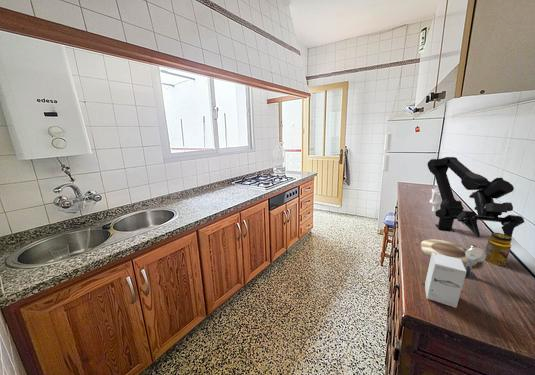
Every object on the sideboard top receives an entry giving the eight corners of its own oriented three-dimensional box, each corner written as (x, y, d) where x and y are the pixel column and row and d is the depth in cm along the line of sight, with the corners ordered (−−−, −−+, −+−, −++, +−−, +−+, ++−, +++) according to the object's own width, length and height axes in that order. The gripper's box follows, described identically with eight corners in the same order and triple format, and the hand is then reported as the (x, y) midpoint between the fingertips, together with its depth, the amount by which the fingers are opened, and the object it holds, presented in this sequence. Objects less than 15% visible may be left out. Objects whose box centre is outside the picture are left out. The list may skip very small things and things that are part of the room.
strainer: (434, 213, 134) (439, 190, 130) (425, 209, 140) (429, 187, 136) (444, 212, 134) (449, 189, 130) (434, 208, 141) (439, 186, 137)
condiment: (509, 271, 79) (519, 241, 76) (478, 264, 83) (486, 236, 80) (501, 260, 86) (509, 233, 82) (472, 255, 90) (480, 228, 86)
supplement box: (426, 299, 66) (434, 263, 63) (424, 285, 73) (431, 251, 69) (457, 309, 63) (467, 271, 59) (452, 293, 69) (461, 258, 66)
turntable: (415, 239, 100) (416, 236, 100) (463, 246, 94) (464, 243, 94) (428, 261, 84) (428, 257, 83) (487, 271, 78) (488, 267, 77)
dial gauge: (450, 266, 82) (457, 236, 79) (466, 269, 81) (475, 238, 77) (460, 279, 75) (468, 247, 72) (478, 283, 73) (488, 250, 70)
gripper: (466, 191, 88) (474, 228, 80) (528, 196, 81) (543, 235, 74) (454, 204, 97) (460, 237, 89) (508, 209, 90) (520, 245, 83)
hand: (493, 239), depth 84 cm, fingers open, 9 cm apart
